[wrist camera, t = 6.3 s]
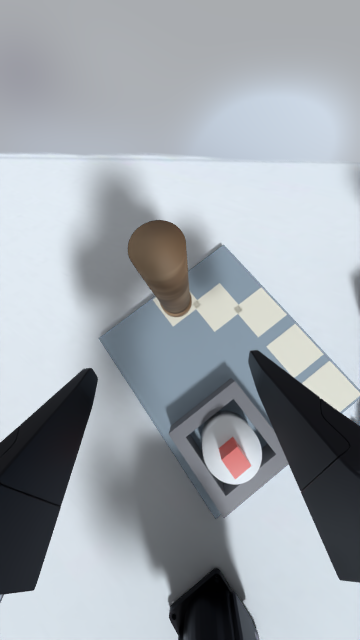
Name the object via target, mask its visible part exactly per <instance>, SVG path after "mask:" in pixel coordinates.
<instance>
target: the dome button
mask: <svg viewBox="0 0 360 640" xmlns="http://www.w3.org/2000/svg"><path fill="white" fill-rule="evenodd" d="M201 438H202V449H203V457H204V460H205V463H206V465H207V467H208V469H209V470H210V472H211V473H212V474H213V475H214V476H215V477H216V478H217V479H219V480H221V481H223V482H225V483H228V484H242V483H245V482H247V481H249V480H250V479H252V478H253V477H254V476H255V474H256V473H257V471H258V470H259V467H260V465H261V461H262V449H261V445H260V442H259V439H258V437H257V436H256V434H255V433H254V431H253V430H252V429H251V427H250V426H249V425H248V423H247V422H246V421H245V420H244V418H242V417H241V416H240V415H239V414H237V413H235V412H232V411H226V410H225V411H218V412H216V413H215V414H214V415H213V416H212V417H210V418H209V419H208V420H207V421H205V423H204V425H203V428H202V434H201Z"/></svg>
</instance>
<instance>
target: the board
mask: <svg viewBox="0 0 360 640" xmlns="http://www.w3.org/2000/svg"><path fill="white" fill-rule="evenodd" d="M188 278H189V292H190V294H191V297H192V305H191V308H190V310H189V311H188V313H186V314H185V315H183V316H181V317H172V316H169V315H168V314H166V313H165V312H164V310H163V309H162V307H161V305H160V302H159V300H158V299H157V298H156V296H155V297H153V298H152V299H151V300H149V301H148V302H147V303H145V304H144V305H143V306H141V307H140V308H139V309H137V310H136V311H135V312H133V313H132V314H131V315H129V316H128V317H127V318H125V319H124V320H123V321H121V322H120V323H119V324H117V325H116V326H115V327H113V328H112V329H111V330H109V331H108V332H107V333H105V334H104V335H103V336H101V337H100V338H99V340H100V341H101V343H102V344H103V346H104V347H105V349H106V350H107V352H108V353H109V355H110V357H111V358H112V360H113V361H114V363H115V364H116V366H117V367H118V369H119V370H120V372H121V374H122V375H123V377H124V378H125V380H126V381H127V383H128V384H129V386H130V387H131V389H132V390H133V392H134V394H135V395H136V397H137V398H138V400H139V401H140V403H141V404H142V406H143V407H144V409H145V411H146V412H147V414H148V415H149V417H150V418H151V420H152V421H153V423H154V424H155V426H156V428H157V429H158V431H159V432H160V434H161V435H162V437H163V438H164V440H165V441H166V443H167V445H168V446H169V448H170V449H171V451H172V452H173V454H174V455H175V457H176V458H177V460H178V462H179V463H180V465H181V466H182V468H183V469H184V471H185V472H186V474H187V475H188V477H189V479H190V480H191V482H192V483H193V485H194V486H195V488H196V489H197V491H198V492H199V494H200V495H201V497H202V499H203V500H204V502H205V503H206V505H207V506H208V508H209V509H210V511H211V512H212V514H213V516H214V517H215V519H216V518H218V517H219V516H220V515H222V516H223V518H225V517H226V516H227V515H229V514H230V513H231V512H232V511H233V510H235V509H236V508H237V507H238V506H239V505H240V504H242V503H243V502H244V501H245V500H246V499H248V498H249V497H250V496H251V495H252V494H254V493H255V492H256V491H257V490H258V489H260V488H261V487H262V486H263V485H264V484H265V483H267V482H268V481H269V480H270V479H271V478H273V477H274V476H275V475H276V474H277V473H279V472H280V471H281V470H282V469H283V468H285V467H286V466H287V465H288V464H289V463H288V461H287V459H286V457H285V454H284V452H283V450H282V447H281V445H280V443H279V441H278V438H277V436H276V434H275V431H274V429H273V427H272V425H271V422H270V420H269V418H268V415H267V413H266V411H265V409H264V406H263V404H262V402H261V399H260V397H259V395H258V392H257V390H256V387H255V384H254V380H253V377H252V374H251V371H250V367H249V364H248V358H249V352H250V351H251V350H259V351H260V352H261V353H263V354H264V355H265V356H267V357H268V358H269V359H270V360H272V361H273V362H274V363H276V364H277V365H278V366H280V367H281V368H282V369H284V370H285V371H286V372H287V373H289V374H290V375H291V376H293V377H294V378H295V379H297V380H298V381H299V382H301V383H302V384H303V385H304V386H306V387H307V388H308V389H310V390H311V391H312V392H314V393H315V394H316V395H318V396H319V397H320V399H323V400H324V401H325V402H327V403H328V404H329V405H331V406H332V407H333V408H335V409H336V410H338V411H339V412H340V413H343V412H344V411H345V410H346V409H348V408H349V407H350V406H351V405H352V404H354V403H355V402H356V401H357V400H358V399H360V390H359V389H358V388H357V387H356V386H355V384H354V383H353V382H352V381H351V380H350V379H349V378H348V377H347V376H346V375H345V374H344V373H343V372H342V371H341V370H340V368H339V367H338V366H337V365H336V364H335V363H334V362H333V361H332V360H331V359H330V358H329V357H328V356H327V355H326V354H325V352H324V351H323V350H322V349H321V348H320V347H319V346H318V345H317V344H316V343H315V342H314V341H313V340H312V339H311V337H310V336H309V335H308V334H307V333H306V332H305V331H304V330H303V329H302V328H301V327H300V326H299V325H298V324H297V323H296V321H295V320H294V319H293V318H292V317H291V316H290V315H289V314H288V313H287V312H286V311H285V310H284V309H283V308H282V306H281V305H280V304H279V303H278V302H277V301H276V300H275V299H274V298H273V297H272V296H271V295H270V294H269V293H268V292H267V290H266V289H265V288H264V287H263V286H262V285H261V284H260V283H259V282H258V281H257V280H256V279H255V278H254V277H253V275H252V274H251V273H250V272H249V271H248V270H247V269H246V268H245V267H244V266H243V265H242V264H241V263H240V262H239V261H238V259H237V258H236V257H235V256H234V255H233V254H232V253H231V252H230V251H229V250H228V249H227V248H226V247H225V246H224V245H223V246H221V247H220V248H219V249H217V250H216V251H215V252H213V253H212V254H211V255H209V256H208V257H207V258H205V259H204V260H203V261H201V262H200V263H199V264H197V265H196V266H195V267H193V268H192V269H191V270H189V271H188ZM225 410H226V411H232V412H235V413H237V414H239V415H240V416H241V417H242V418H244V420H245V421H246V422H247V423H248V425H249V426H250V427H251V429H252V430H253V431H254V433H255V434H256V436H257V437H258V439H259V442H260V445H261V449H262V461H261V465H260V467H259V470H258V471H257V473H256V474H255V476H254V477H253V478H252V479H250V480H249V481H247V482H245V483H242V484H228V483H225V482H223V481H221V480H219V479H217V478H216V477H215V476H214V475H213V474H212V473H211V472H210V470H209V469H208V467H207V465H206V463H205V460H204V457H203V449H202V438H201V434H202V428H203V425H204V423H205V421H207V420H208V419H209V418H210V417H212V416H213V415H214V414H215V413H216V412H218V411H225Z"/></svg>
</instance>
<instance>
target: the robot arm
mask: <svg viewBox="0 0 360 640" xmlns="http://www.w3.org/2000/svg"><path fill="white" fill-rule="evenodd" d="M248 364H249V367H250V371H251V374H252V377H253V380H254V384H255V387H256V390H257V392H258V395H259V397H260V399H261V402H262V404H263V406H264V409H265V411H266V413H267V415H268V418H269V420H270V422H271V425H272V427H273V429H274V431H275V434H276V436H277V438H278V441H279V443H280V445H281V447H282V450H283V452H284V454H285V457H286V459H287V461H288V463H289V466H290V468H291V470H292V473H293V475H294V477H295V479H296V482H297V484H298V486H299V489H300V491H302V492H301V493H302V496H303V498H304V500H305V503H306V505H307V507H308V509H309V512H310V514H311V516H312V519H313V521H314V523H315V525H316V528H317V530H318V532H319V535H320V537H321V539H322V541H323V544H324V546H325V548H326V551H327V553H328V555H329V557H330V560H331V562H332V564H333V567H334V569H335V571H336V573H337V575H338V578H339V580H342V581H351V582H359V583H360V426H359V425H358V424H356V423H355V422H353V421H352V420H350V419H349V418H347V417H346V416H344V415H343V414H342V413H340V412H339V411H338V410H336V409H335V408H333V407H332V406H331V405H329V404H328V403H327V402H325V401H324V400H323V399H320V397H319V396H318V395H316V394H315V393H314V392H312V391H311V390H310V389H308V388H307V387H306V386H304V385H303V384H302V383H301V382H299V381H298V380H297V379H295V378H294V377H293V376H291V375H290V374H289V373H287V372H286V371H285V370H284V369H282V368H281V367H280V366H278V365H277V364H276V363H274V362H273V361H272V360H270V359H269V358H268V357H267V356H265V355H264V354H263V353H261V352H260V351H259V350H251V351H250V352H249V358H248ZM97 382H98V378H97V375H96V374H95V372H94V371H93V369H92V368H86V369H83V370H82V371H81V372H80V373H78V374H77V375H76V376H75V377H74V378H73V379H72V380H71V381H69V382H68V383H67V384H66V385H65V386H64V387H63V388H62V389H60V390H59V391H58V392H57V393H56V394H55V395H54V396H52V397H51V398H50V399H49V400H48V401H47V402H46V403H45V404H43V405H42V406H41V407H40V408H39V409H38V410H37V411H36V412H34V413H33V414H32V415H31V416H30V417H29V418H28V419H27V420H25V421H24V422H23V423H22V424H21V425H20V426H19V427H18V428H16V429H15V430H14V431H13V432H12V433H11V434H10V435H8V436H7V437H6V438H5V439H4V440H3V441H2V442H0V602H1V600H2V598H3V596H4V594H10V593H17V592H25V591H33V590H34V589H35V586H36V584H37V581H38V578H39V575H40V571H41V568H42V565H43V562H44V559H45V556H46V552H47V549H48V546H49V543H50V540H51V537H52V533H53V530H54V527H55V524H56V521H57V517H58V514H59V511H60V508H61V507H60V506H61V504H62V501H63V498H64V495H65V492H66V489H67V485H68V482H69V479H70V476H71V473H72V469H73V466H74V463H75V460H76V457H77V454H78V450H79V447H80V444H81V441H82V438H83V435H84V431H85V428H86V425H87V422H88V419H89V415H90V412H91V409H92V405H93V401H94V396H95V391H96V386H97ZM216 577H218V578H216ZM173 613H174V614H173ZM169 618H170V621H171V623H172V625H173V626H174V628H175V630H176V632H177V634H178V640H259V636H258V632H257V630H256V628H255V627H254V625H253V622H252V619H251V617H250V615H249V614H248V612H247V610H246V609H245V607H244V606H243V604H242V602H241V601H240V599H239V597H238V596H237V594H236V593H235V592H234V591H232V589H231V588H230V586H229V584H228V583H227V581H226V580H225V578H224V576H223V575H222V573H221V571H220V570H219V569H214V570H213V571H211V572H210V573H209V574H208V575H207V576H206V577H204V578H203V579H202V580H201V581H200V582H199V583H197V584H196V585H195V586H194V587H193V588H192V589H190V590H189V591H188V592H187V593H186V594H185V595H183V596H182V597H181V598H180V599H179V600H177V601H176V602H175V603H174V604H173V605H172V606H171V607H170V612H169Z"/></svg>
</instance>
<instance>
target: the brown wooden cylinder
mask: <svg viewBox="0 0 360 640" xmlns="http://www.w3.org/2000/svg"><path fill="white" fill-rule="evenodd" d="M128 255H129V258H130V260H131V262H132V263H133V265H134V266H135V268H136V269H137V271H138V272H139V273H140V275H141V276H142V278H143V279H144V281H145V282H146V283H147V285H148V286H149V288H150V289H151V290H152V292H153V293H154V295H155V296H156V298H157V299H158V300H159V302H160V305H161V307H162V309H163V310H164V312H165V313H166V314H168V315H169V316H172V317H181V316H183V315H185V314H186V313H188V311H189V310H190V308H191V305H192V297H191V294H190V292H189V278H188V265H187V251H186V240H185V237H184V234H183V233H182V231H181V230H180V229H179V228H178V227H177V226H176V225H174V224H173V223H171V222H168V221H163V220H155V221H150V222H147V223H145V224H143V225H141V226H140V227H139V228H137V229H136V230H135V232H134V233H133V234H132V236H131V238H130V240H129V243H128Z"/></svg>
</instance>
